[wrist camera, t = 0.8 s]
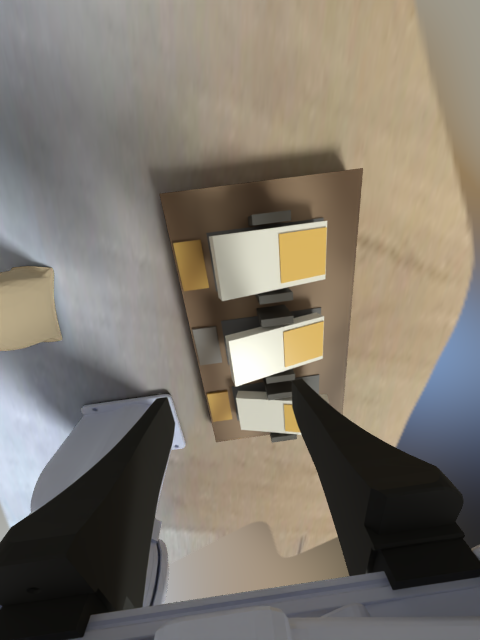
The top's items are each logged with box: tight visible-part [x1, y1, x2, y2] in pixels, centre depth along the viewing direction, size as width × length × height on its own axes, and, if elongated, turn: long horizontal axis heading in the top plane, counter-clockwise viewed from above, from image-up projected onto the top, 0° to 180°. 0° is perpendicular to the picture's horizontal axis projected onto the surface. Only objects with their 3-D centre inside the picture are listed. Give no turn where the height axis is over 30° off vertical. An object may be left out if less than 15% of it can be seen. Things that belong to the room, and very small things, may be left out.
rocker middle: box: [225, 312, 324, 386], centre depth 18 cm, size 8×4×1 cm, turn 97°
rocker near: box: [209, 221, 327, 301], centre depth 15 cm, size 8×4×1 cm, turn 97°
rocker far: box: [236, 391, 329, 435], centre depth 20 cm, size 8×4×1 cm, turn 97°
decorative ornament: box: [0, 266, 62, 351], centre depth 16 cm, size 4×8×5 cm, turn 168°
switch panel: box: [160, 168, 363, 442], centre depth 19 cm, size 14×24×5 cm, turn 7°
